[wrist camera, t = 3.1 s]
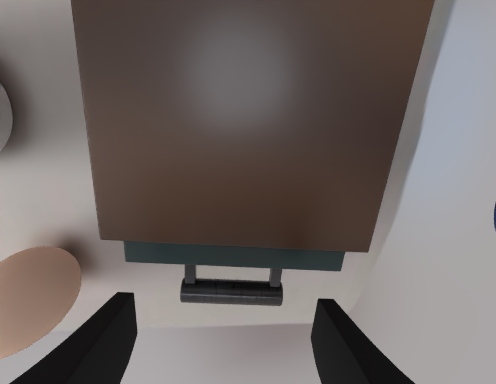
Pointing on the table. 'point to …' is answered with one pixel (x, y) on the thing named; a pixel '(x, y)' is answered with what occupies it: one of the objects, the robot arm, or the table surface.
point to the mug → (5, 117)
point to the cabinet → (245, 116)
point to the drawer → (234, 257)
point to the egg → (35, 295)
